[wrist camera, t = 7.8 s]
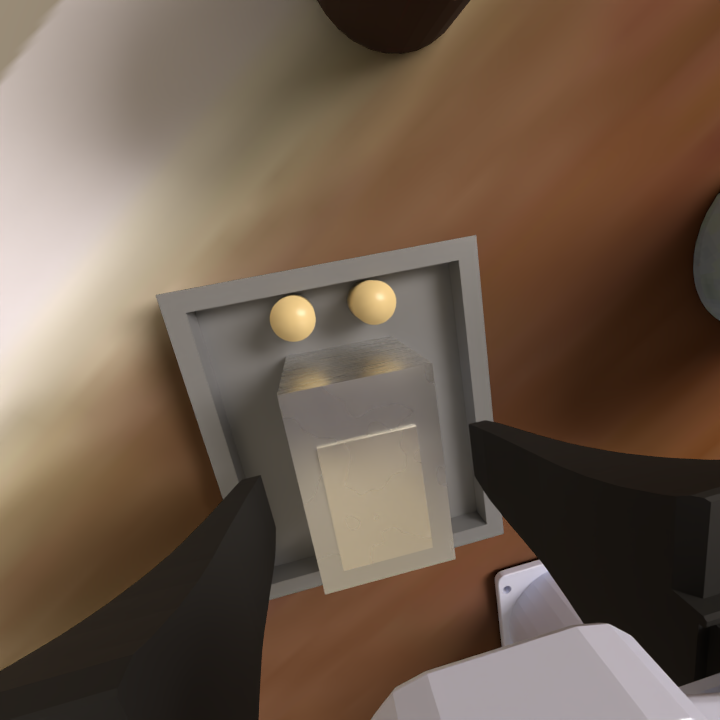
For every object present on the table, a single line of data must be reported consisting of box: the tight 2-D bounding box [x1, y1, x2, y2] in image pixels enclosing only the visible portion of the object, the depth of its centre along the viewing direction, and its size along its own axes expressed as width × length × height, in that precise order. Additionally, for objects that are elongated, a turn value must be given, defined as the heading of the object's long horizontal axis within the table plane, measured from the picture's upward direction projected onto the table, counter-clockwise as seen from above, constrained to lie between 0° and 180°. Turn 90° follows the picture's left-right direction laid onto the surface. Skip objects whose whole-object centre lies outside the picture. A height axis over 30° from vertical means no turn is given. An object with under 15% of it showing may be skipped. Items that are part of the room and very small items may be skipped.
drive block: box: [277, 336, 456, 594], centre depth 13 cm, size 7×4×5 cm, turn 10°
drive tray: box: [156, 235, 504, 600], centre depth 15 cm, size 14×12×3 cm
